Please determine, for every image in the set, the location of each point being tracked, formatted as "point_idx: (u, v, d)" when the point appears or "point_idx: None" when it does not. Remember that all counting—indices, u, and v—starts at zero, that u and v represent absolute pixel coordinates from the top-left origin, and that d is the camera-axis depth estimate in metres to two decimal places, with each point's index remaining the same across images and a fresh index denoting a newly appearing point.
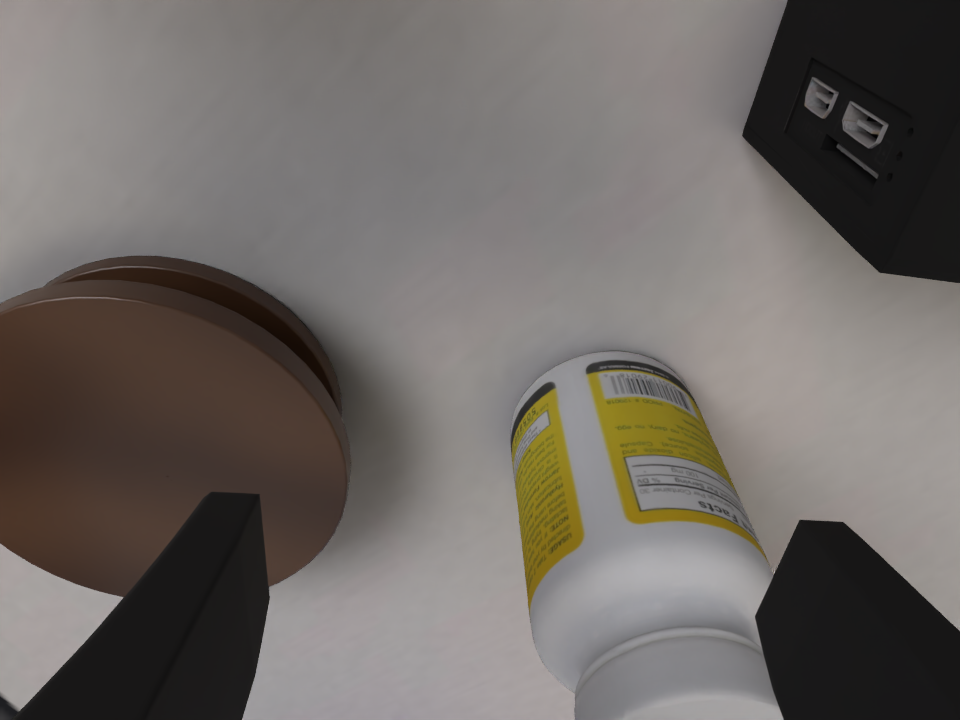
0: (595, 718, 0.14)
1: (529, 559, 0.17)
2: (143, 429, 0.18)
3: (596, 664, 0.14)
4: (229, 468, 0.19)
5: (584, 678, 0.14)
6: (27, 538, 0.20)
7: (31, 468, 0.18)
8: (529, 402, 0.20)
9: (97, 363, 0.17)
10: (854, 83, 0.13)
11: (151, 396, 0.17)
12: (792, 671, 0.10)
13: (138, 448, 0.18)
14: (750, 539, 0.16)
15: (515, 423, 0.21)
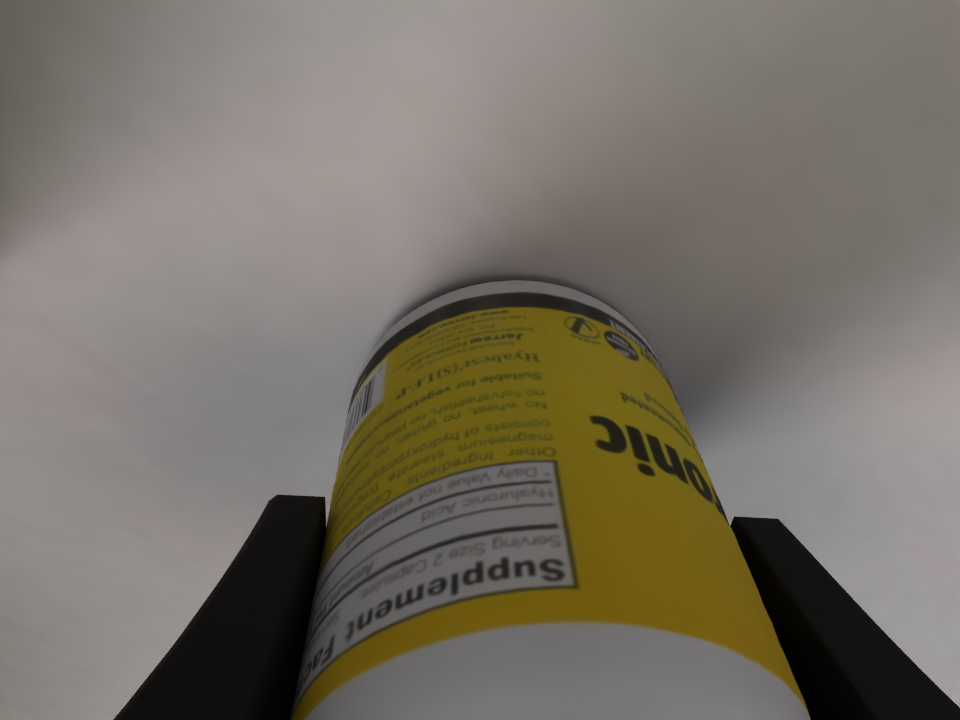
0: None
1: None
2: None
3: None
4: None
5: None
6: None
7: None
8: None
9: None
10: None
11: None
12: None
13: None
14: (341, 674, 0.07)
15: None
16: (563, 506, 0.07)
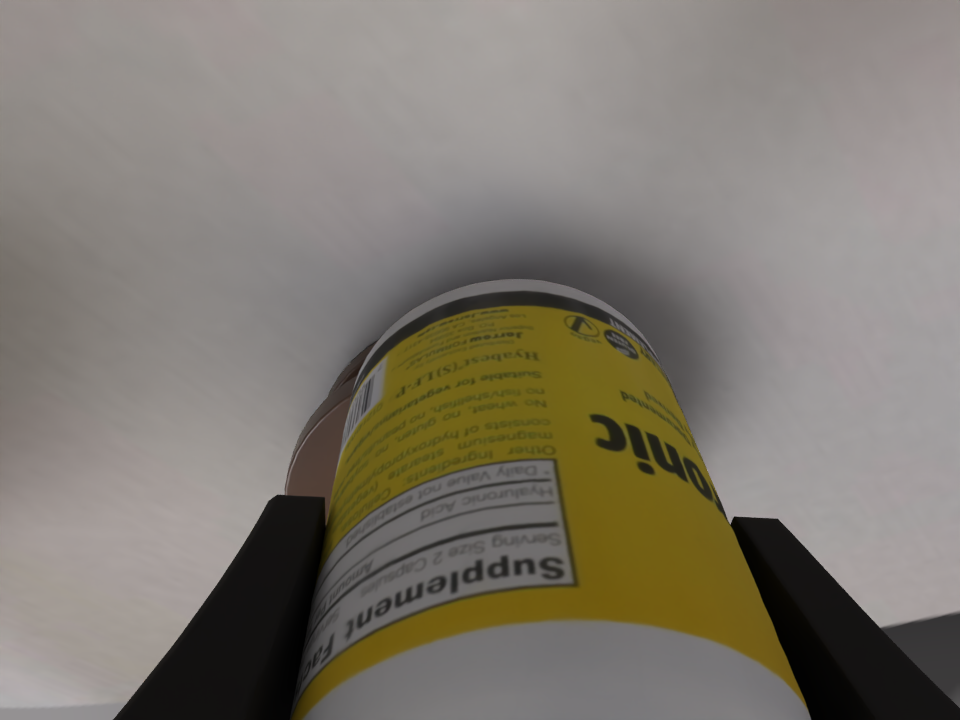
0: None
1: None
2: None
3: None
4: None
5: None
6: None
7: None
8: None
9: None
10: None
11: None
12: None
13: None
14: (340, 672, 0.07)
15: None
16: (563, 505, 0.07)
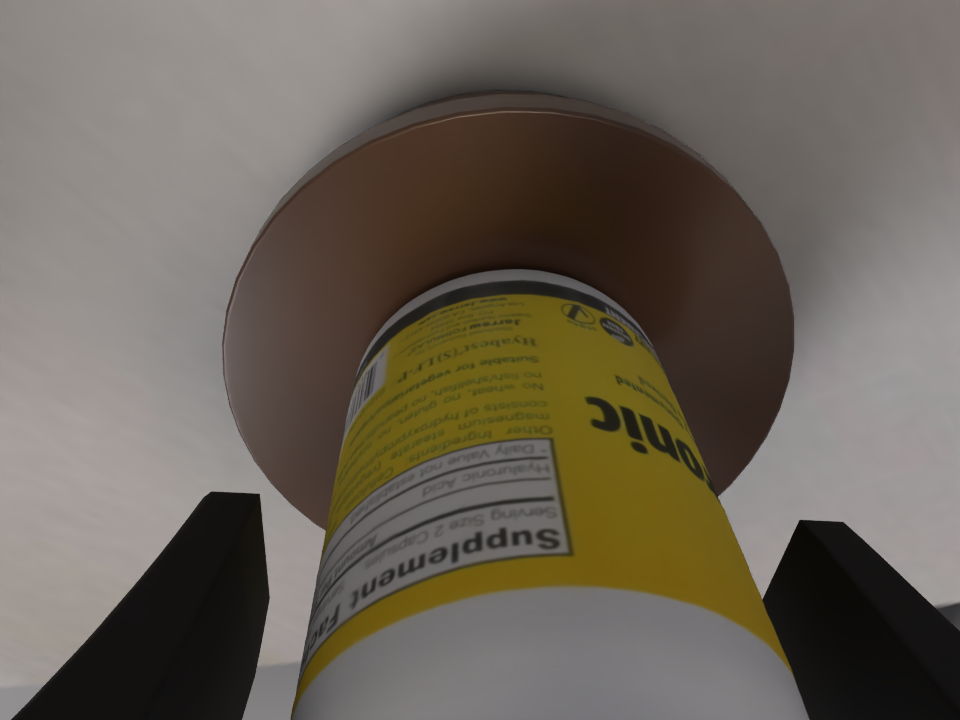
0: None
1: None
2: None
3: None
4: None
5: None
6: None
7: None
8: None
9: (324, 405, 0.13)
10: None
11: None
12: (792, 671, 0.10)
13: None
14: (346, 639, 0.07)
15: None
16: (560, 481, 0.08)
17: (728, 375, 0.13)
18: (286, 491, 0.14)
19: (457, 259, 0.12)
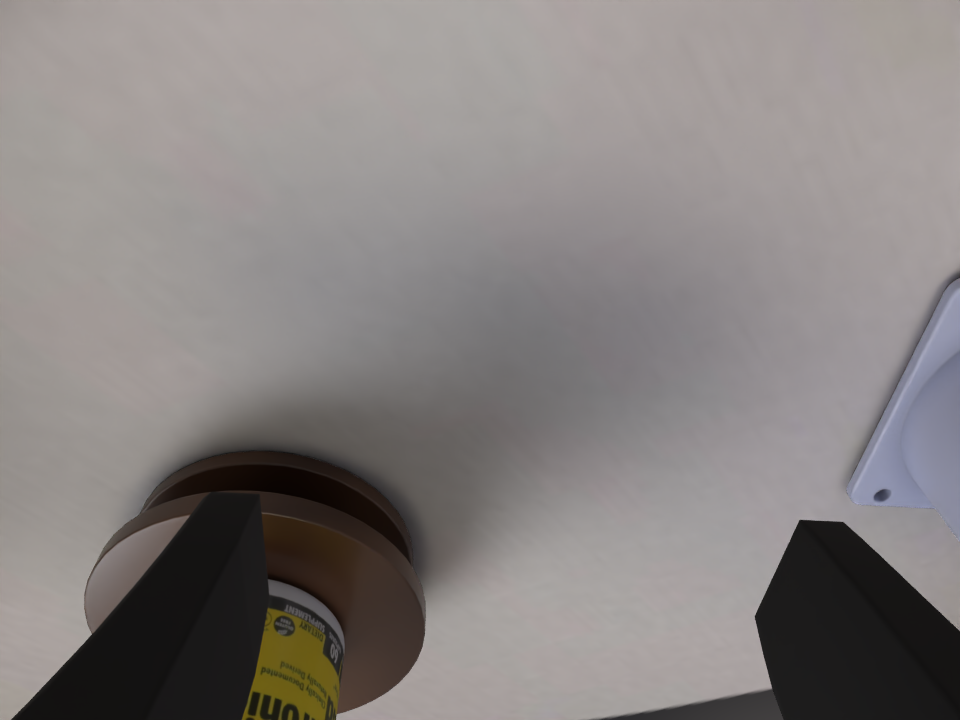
0: None
1: None
2: None
3: None
4: None
5: None
6: (344, 696, 0.25)
7: None
8: None
9: None
10: None
11: None
12: (792, 671, 0.10)
13: None
14: None
15: None
16: None
17: (386, 620, 0.22)
18: None
19: None
